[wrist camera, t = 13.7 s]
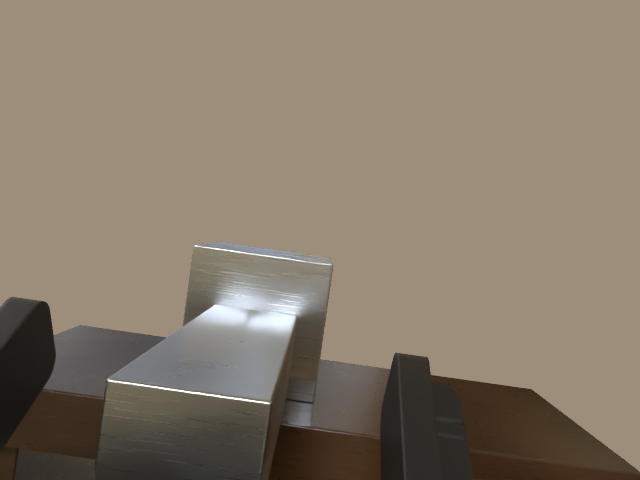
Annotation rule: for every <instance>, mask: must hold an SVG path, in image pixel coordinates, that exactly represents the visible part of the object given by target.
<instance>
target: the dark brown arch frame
mask: <svg viewBox="0 0 640 480" xmlns="http://www.w3.org/2000/svg"><path fill="white" fill-rule="evenodd" d="M164 339H166V337H159V336H152V335H145V334H138V333H131V332H124V331H116V330H109V329H103V328H96V327H89V326H81V325H80V326H77V327H75V328H72V329H69V330H67V331H64V332H62V333H59V334H57V335H54V342H55V349H56V360H55V365H54V369H53V372H52V374H51V376H50V378H49V380H48V382H47V383H46V385H45V386H44V388H43V389H42V391H41V392H40V394H39V395H38V397H37V398H36V400H35V401H34V403H33V404H32V406H31V407H30V409H29V410H28V412H27V413H26V415H25V416H24V418H23V420H22V421H21V423H20V424H19V426H18V427H17V429H16V430H15V432H14V433H13V435H12V436H11V438H10V439H9V441H8V442H7V444H6V445H5V447H4V448H3V450H2V451H1V453H0V480H93V474H94V466H95V460H96V452H97V445H98V438H99V430H100V423H101V415H102V408H103V401H104V393H105V386H106V380H107V379H108V378H109V377H110V376H112V375H113V374H115V373H116V372H118V371H119V370H121V369H122V368H123V367H125V366H126V365H128V364H129V363H131V362H132V361H134V360H135V359H137V358H138V357H139V356H141V355H142V354H144V353H145V352H147V351H148V350H150V349H151V348H153V347H154V346H155V345H157V344H158V343H160V342H161V341H163V340H164ZM390 370H391V369H384V368H377V367H370V366H363V365H355V364H349V363H342V362H335V361H328V360H321V359H320V363H319V370H318V377H317V384H316V391H315V398H314V402H313V403H309V402H302V401H295V400H288V399H286V401H285V405H284V410H283V414H282V419H281V423H280V428H279V433H278V437H277V442H276V446H275V451H274V455H273V460H272V465H271V469H270V474H269V478H268V480H381V451H380V420H381V410H382V403H383V398H384V394H385V390H386V386H387V382H388V378H389V374H390ZM431 381H435V382H442V383H449V385H450V386H451V388H452V389H453V391H454V393H455V394H456V396H457V397H458V399H459V400H460V402H461V407H462V412H463V418H464V425H465V430H466V435H467V442H468V447H469V453H470V459H471V464H472V470H473V476H474V480H640V472H639V471H638V470H637V469H635V468H634V467H633V466H632V465H630V464H629V463H627V462H626V461H625V460H624V459H622V458H621V457H620V456H618V455H617V454H616V453H614V452H613V451H612V450H610V449H609V448H608V447H607V446H605V445H604V444H603V443H601V442H600V441H599V440H597V439H596V438H595V437H593V436H592V435H591V434H589V433H588V432H587V431H585V430H584V429H583V428H582V427H580V426H579V425H578V424H576V423H575V422H574V421H572V420H571V419H570V418H568V417H567V416H566V415H564V414H563V413H562V412H561V411H559V410H558V409H557V408H555V407H554V406H553V405H551V404H550V403H549V402H547V401H546V400H545V399H543V398H542V397H541V396H539V395H538V394H537V393H535V392H534V391H533V390H531V389H525V388H518V387H511V386H504V385H497V384H490V383H483V382H476V381H468V380H461V379H454V378H447V377H440V376H434V375H431Z"/></svg>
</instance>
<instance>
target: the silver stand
mask: <svg viewBox="0 0 640 480" xmlns="http://www.w3.org/2000/svg"><path fill="white" fill-rule="evenodd" d="M332 271H333V263H332V260H331V258H327V257H321V256H314V255H307V254H300V253H293V252H286V251H278V250H271V249H264V248H257V247H251V246H244V245H236V244H229V243H222V242H216V243H207V244H199V245H194V248H193V255H192V262H191V270H190V277H189V285H188V292H187V299H186V306H185V313H184V321H183V327H182V328H180V329H179V330H177V331H176V332H174V333H173V334H171V335H170V336H169V337H167V338H166V339H164V340H163V341H161V342H160V343H158V344H157V345H155V346H154V347H153V348H151V349H150V350H148V351H147V352H145V353H144V354H142V355H141V356H139V357H138V358H137V359H135V360H134V361H132V362H131V363H129V364H128V365H126V366H125V367H123V368H122V369H121V370H119V371H118V372H116V373H115V374H113V375H112V376H110V377H109V378H108V379H107V380H106V386H105V393H104V401H103V408H102V415H101V423H100V430H99V438H98V445H97V452H96V460H95V467H94V474H93V480H268V478H269V474H270V469H271V465H272V460H273V455H274V451H275V446H276V442H277V437H278V433H279V428H280V423H281V419H282V414H283V410H284V405H285V401H286V399H288V400H295V401H302V402H309V403H313V402H314V398H315V391H316V384H317V377H318V370H319V363H320V355H321V348H322V341H323V334H324V326H325V320H326V313H327V306H328V299H329V291H330V285H331V277H332Z"/></svg>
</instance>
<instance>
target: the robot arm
mask: <svg viewBox="0 0 640 480" xmlns="http://www.w3.org/2000/svg"><path fill="white" fill-rule="evenodd" d="M55 360H56V349H55V342H54V335H53V329H52V322H51V315H50V309H49V306H48V304H47V303H46V302H44V301H37V300H30V299H23V298H16V297H11V298H9V299H7V300H6V301H5V302H4V303H3V305H2V306H1V307H0V453H1V451H2V450H3V448H4V447H5V445H6V444H7V442H8V441H9V439H10V438H11V436H12V435H13V433H14V432H15V430H16V429H17V427H18V426H19V424H20V423H21V421H22V420H23V418H24V416H25V415H26V413H27V412H28V410H29V409H30V407H31V406H32V404H33V403H34V401H35V400H36V398H37V397H38V395H39V394H40V392H41V391H42V389H43V388H44V386H45V385H46V383H47V382H48V380H49V378H50V376H51V374H52V372H53V369H54V365H55ZM380 451H381V480H474V476H473V470H472V464H471V459H470V453H469V447H468V442H467V435H466V430H465V425H464V418H463V412H462V407H461V402H460V400H459V399H458V397H457V396H456V394H455V393H454V391H453V389H452V388H451V386H450V385H449V383H442V382H435V381H431V374H430V366H429V360H428V358H427V357H421V356H415V355H407V354H400V353H395V355H394V358H393V361H392V366H391V370H390V374H389V378H388V382H387V386H386V390H385V394H384V398H383V403H382V410H381V420H380Z"/></svg>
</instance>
